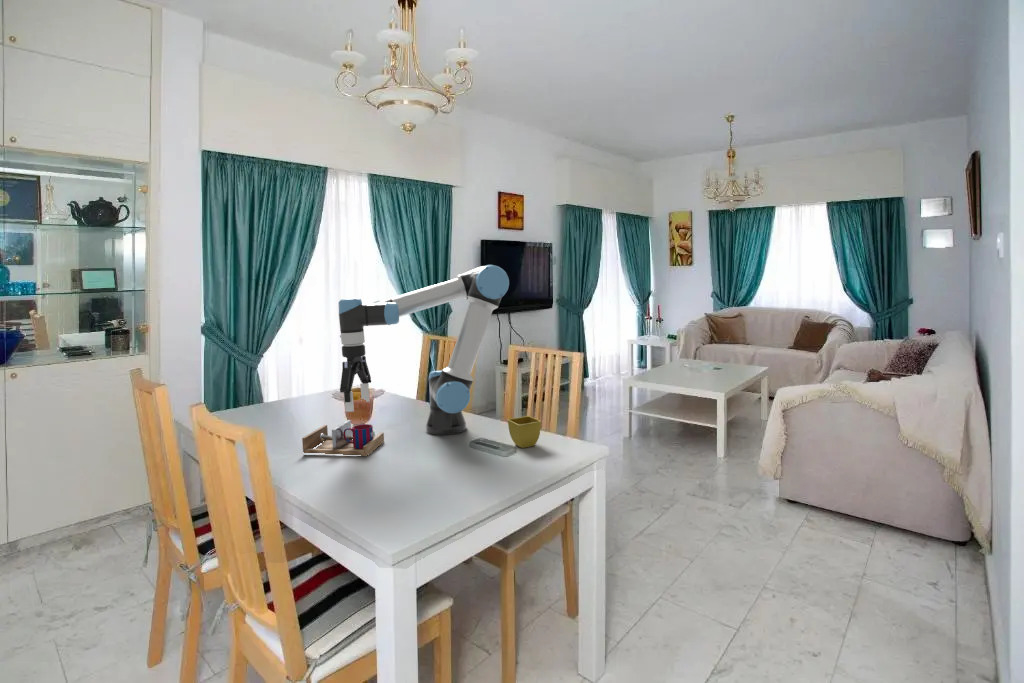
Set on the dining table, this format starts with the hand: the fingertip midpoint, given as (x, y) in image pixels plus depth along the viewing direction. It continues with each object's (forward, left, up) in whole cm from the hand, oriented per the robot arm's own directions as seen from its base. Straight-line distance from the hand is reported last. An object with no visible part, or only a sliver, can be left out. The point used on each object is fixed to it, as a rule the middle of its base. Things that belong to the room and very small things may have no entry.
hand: (358, 406), depth 184 cm
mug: (0, 0, -14) cm, 14 cm away
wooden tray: (+5, 0, -15) cm, 16 cm away
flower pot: (-56, -7, -15) cm, 59 cm away
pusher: (+10, 0, -14) cm, 17 cm away
